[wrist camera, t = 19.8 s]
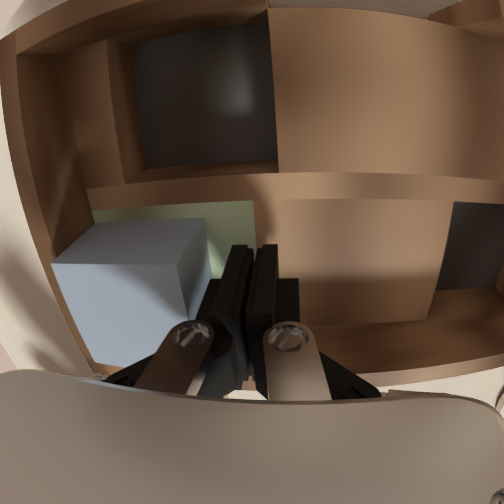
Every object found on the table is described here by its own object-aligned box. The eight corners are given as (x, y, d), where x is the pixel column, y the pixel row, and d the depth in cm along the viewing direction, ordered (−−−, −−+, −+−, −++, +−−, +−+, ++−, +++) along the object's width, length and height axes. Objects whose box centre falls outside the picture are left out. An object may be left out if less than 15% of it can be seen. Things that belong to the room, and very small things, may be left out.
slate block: (203, 217, 12) (176, 264, 9) (219, 318, 14) (203, 376, 11) (96, 222, 13) (50, 263, 10) (124, 313, 15) (94, 362, 12)
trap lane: (565, 66, 8) (630, 79, 3) (528, 293, 15) (567, 346, 10) (79, 43, 11) (-2, 41, 6) (132, 305, 18) (93, 372, 13)
